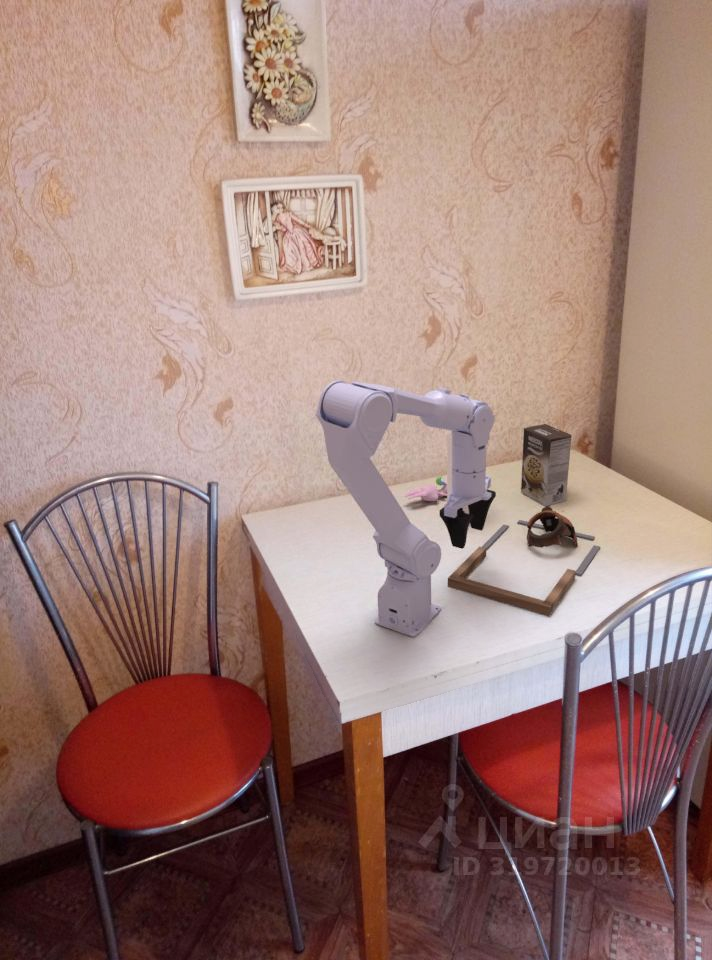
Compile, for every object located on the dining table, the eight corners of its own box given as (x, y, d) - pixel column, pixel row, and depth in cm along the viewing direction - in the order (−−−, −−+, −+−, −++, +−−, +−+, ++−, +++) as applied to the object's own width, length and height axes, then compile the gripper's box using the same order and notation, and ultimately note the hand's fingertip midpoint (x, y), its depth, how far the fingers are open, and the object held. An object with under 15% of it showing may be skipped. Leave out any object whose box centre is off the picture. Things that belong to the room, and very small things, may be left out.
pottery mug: (587, 556, 133) (573, 529, 128) (541, 573, 135) (526, 548, 131) (570, 515, 142) (557, 489, 138) (528, 533, 145) (513, 507, 140)
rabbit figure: (449, 493, 165) (397, 499, 157) (452, 470, 163) (400, 475, 155) (465, 502, 160) (413, 509, 152) (469, 478, 158) (416, 484, 150)
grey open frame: (580, 576, 125) (581, 574, 125) (479, 550, 136) (479, 548, 136) (605, 540, 137) (605, 538, 136) (510, 519, 147) (510, 517, 147)
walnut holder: (549, 616, 114) (549, 607, 113) (447, 586, 124) (447, 578, 124) (575, 579, 124) (575, 570, 123) (479, 554, 134) (479, 546, 134)
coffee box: (519, 492, 160) (522, 427, 153) (541, 486, 162) (545, 422, 156) (544, 507, 152) (549, 439, 146) (567, 500, 154) (572, 433, 148)
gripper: (471, 486, 109) (470, 560, 114) (507, 456, 119) (505, 525, 125) (432, 478, 112) (433, 550, 118) (470, 450, 123) (469, 517, 128)
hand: (467, 537), depth 121 cm, fingers open, 7 cm apart
